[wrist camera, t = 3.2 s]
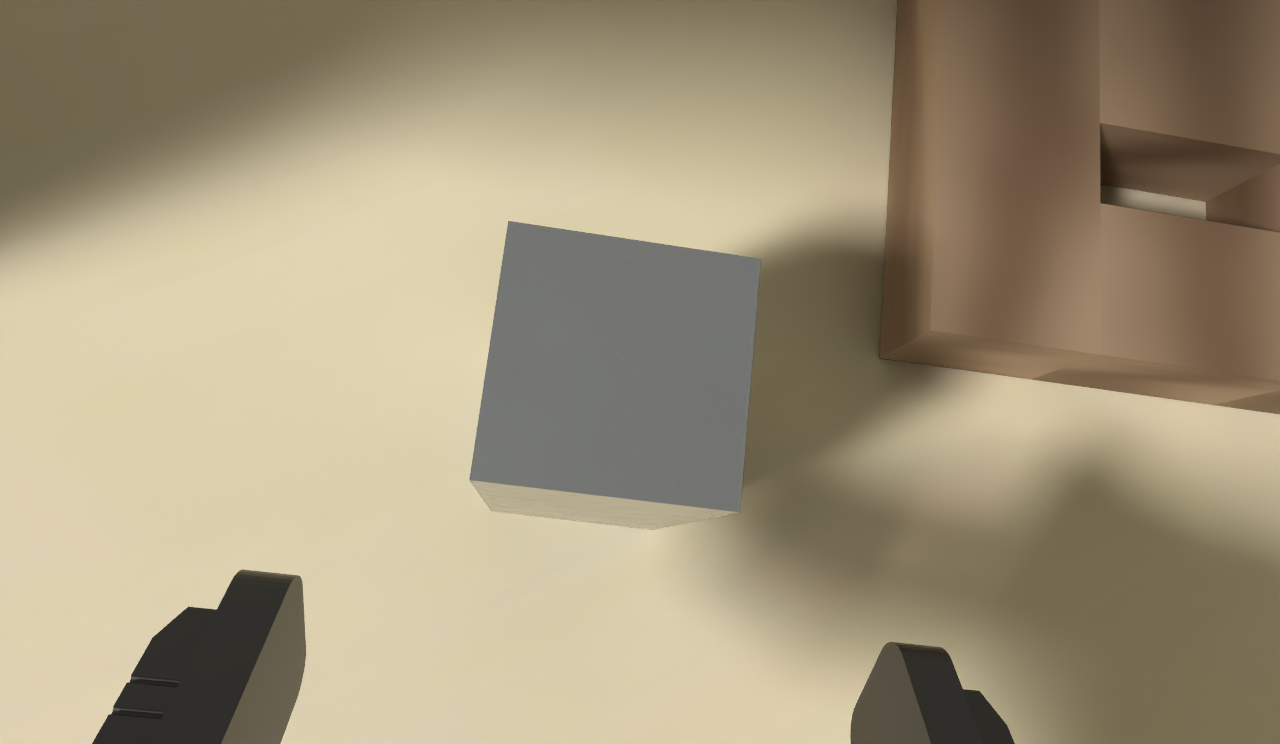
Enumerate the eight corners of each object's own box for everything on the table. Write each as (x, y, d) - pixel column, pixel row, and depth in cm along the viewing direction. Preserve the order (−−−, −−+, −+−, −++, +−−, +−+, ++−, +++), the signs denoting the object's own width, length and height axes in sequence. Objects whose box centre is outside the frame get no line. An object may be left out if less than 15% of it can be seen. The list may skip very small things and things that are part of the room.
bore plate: (879, 358, 23) (930, 330, 21) (911, -279, 28) (956, -376, 25) (1352, 424, 25) (1462, 406, 22) (1309, -192, 30) (1396, -274, 27)
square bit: (491, 510, 21) (469, 480, 13) (514, 352, 22) (508, 220, 14) (652, 529, 22) (740, 512, 13) (669, 372, 23) (761, 259, 14)
